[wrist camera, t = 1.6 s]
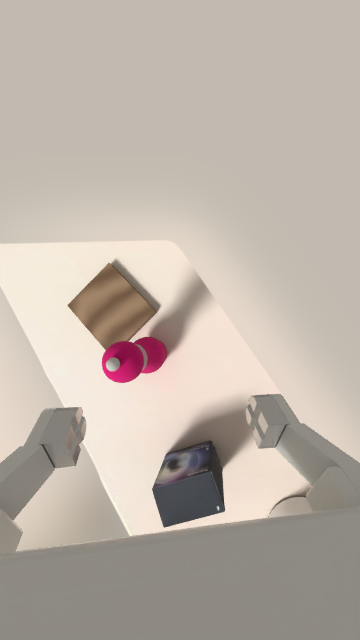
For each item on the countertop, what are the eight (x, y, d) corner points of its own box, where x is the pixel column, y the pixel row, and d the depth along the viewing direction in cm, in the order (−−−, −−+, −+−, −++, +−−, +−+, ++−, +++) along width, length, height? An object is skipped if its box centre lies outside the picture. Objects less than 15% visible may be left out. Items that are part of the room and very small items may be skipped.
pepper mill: (165, 333, 46) (130, 331, 26) (172, 366, 45) (142, 388, 25) (134, 341, 47) (79, 343, 27) (141, 372, 46) (88, 399, 26)
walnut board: (157, 312, 46) (155, 311, 45) (113, 355, 47) (110, 355, 46) (112, 265, 49) (109, 262, 48) (71, 306, 50) (67, 305, 48)
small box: (211, 437, 43) (211, 469, 32) (223, 470, 42) (227, 513, 31) (164, 452, 44) (150, 488, 33) (174, 484, 43) (163, 530, 33)
